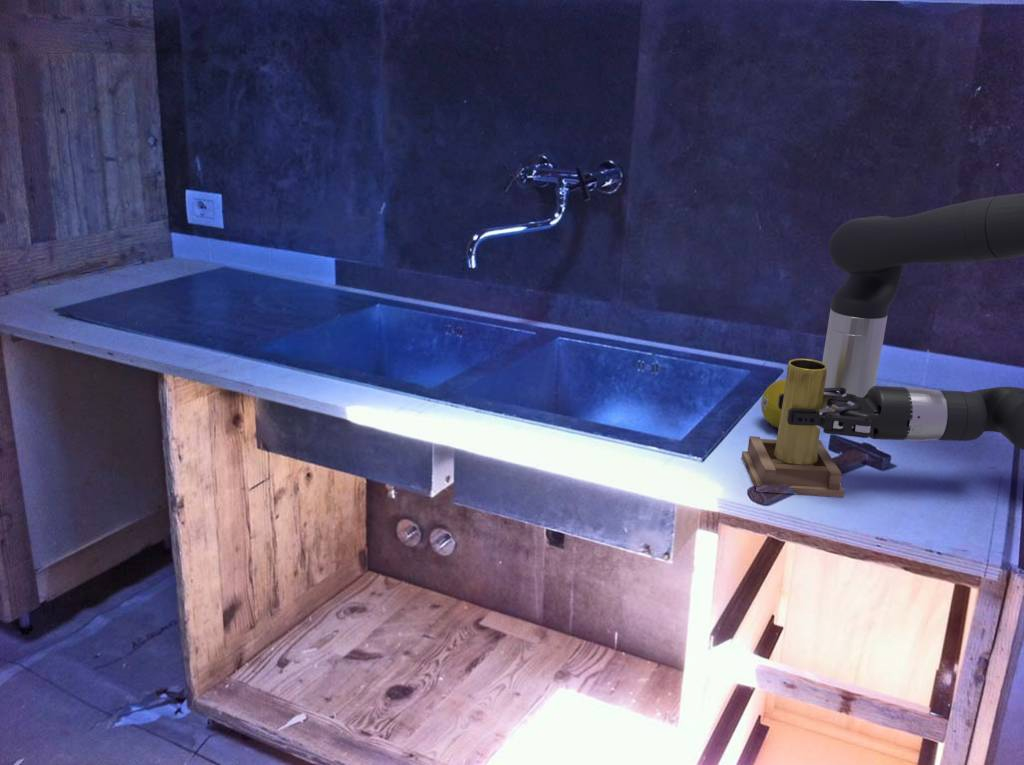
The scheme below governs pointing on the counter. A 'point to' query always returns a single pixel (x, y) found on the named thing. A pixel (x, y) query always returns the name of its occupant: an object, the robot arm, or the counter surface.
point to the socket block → (792, 470)
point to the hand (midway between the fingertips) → (783, 408)
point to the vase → (803, 394)
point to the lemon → (773, 402)
